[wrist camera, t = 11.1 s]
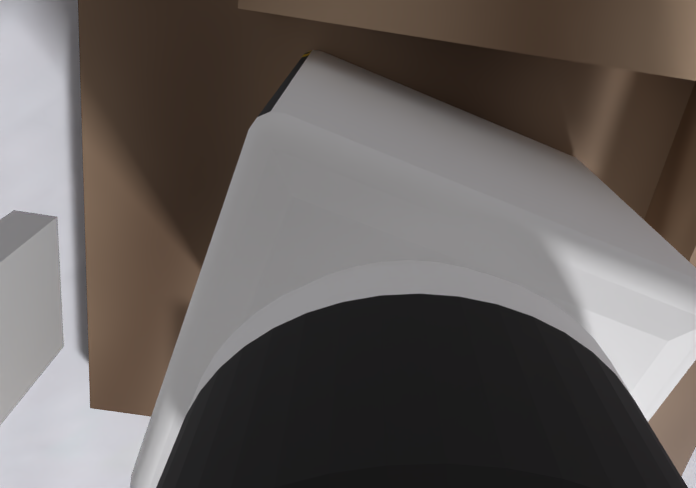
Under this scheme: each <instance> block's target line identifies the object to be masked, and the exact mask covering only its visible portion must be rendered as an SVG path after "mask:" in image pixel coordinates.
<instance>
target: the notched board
mask: <svg viewBox="0 0 696 488" xmlns="http://www.w3.org/2000/svg"><path fill="white" fill-rule="evenodd" d="M78 16H79V49H80V82H81V116H82V149H83V182H84V215H85V249H86V282H87V315H88V348H89V381H90V408H94V409H101V410H108V411H116V412H123V413H130V414H137V415H145V416H152V413H153V410H154V407H155V404H156V401H157V398H158V395H159V392H160V389H161V386H162V383H163V380H164V377H165V375H166V372H167V369H168V366H169V363H170V360H171V357H172V354H173V351H174V348H175V345H176V342H177V339H178V336H179V333H180V330H181V327H182V324H183V321H184V319H185V316H186V313H187V310H188V307H189V304H190V301H191V298H192V295H193V292H194V289H195V286H196V283H197V280H198V277H199V274H200V271H201V268H202V265H203V263H204V260H205V257H206V254H207V251H208V248H209V245H210V242H211V239H212V236H213V233H214V230H215V227H216V224H217V221H218V218H219V215H220V212H221V210H222V207H223V204H224V201H225V198H226V195H227V192H228V189H229V186H230V183H231V180H232V177H233V174H234V171H235V168H236V165H237V162H238V159H239V156H240V154H241V151H242V148H243V145H244V142H245V139H246V136H247V133H248V130H249V128H250V127H251V125H252V124H253V122H254V121H255V119H256V118H257V117H258V115H259V114H260V113H261V111H262V110H263V109H264V107H265V106H266V105H267V103H268V102H269V101H270V99H271V98H272V97H273V95H274V94H275V92H276V91H277V90H278V88H279V87H280V86H281V84H282V83H283V82H284V80H285V79H286V78H287V76H288V75H289V74H290V72H291V71H292V70H293V68H294V67H295V66H296V64H297V63H298V62H299V60H300V59H301V58H302V56H303V55H304V54H305V53H307V52H309V51H311V50H318V51H323V52H325V53H327V54H330V55H332V56H335V57H337V58H339V59H342V60H344V61H346V62H349V63H351V64H354V65H356V66H358V67H361V68H363V69H366V70H368V71H370V72H373V73H375V74H377V75H380V76H382V77H385V78H387V79H389V80H392V81H394V82H397V83H399V84H401V85H404V86H406V87H408V88H411V89H413V90H416V91H418V92H420V93H423V94H425V95H428V96H430V97H432V98H435V99H437V100H439V101H442V102H444V103H447V104H449V105H451V106H454V107H456V108H459V109H461V110H463V111H466V112H468V113H470V114H473V115H475V116H478V117H480V118H482V119H485V120H487V121H490V122H492V123H494V124H497V125H499V126H501V127H504V128H506V129H509V130H511V131H513V132H516V133H518V134H521V135H523V136H525V137H528V138H530V139H532V140H535V141H537V142H540V143H542V144H544V145H547V146H549V147H552V148H554V149H556V150H559V151H561V152H563V153H566V154H568V155H571V156H573V157H575V158H577V159H578V160H579V161H581V162H582V163H583V164H584V165H585V166H586V167H587V168H588V169H589V170H590V171H592V172H593V173H594V174H595V175H596V176H597V177H598V178H599V179H600V180H601V181H602V182H603V183H604V184H606V185H607V186H608V187H609V188H610V189H611V190H612V191H613V192H614V193H615V194H616V195H617V196H619V197H620V198H621V199H622V200H623V201H624V202H625V203H626V204H627V205H628V206H629V207H630V208H632V209H633V210H634V211H635V212H636V213H637V214H638V215H639V216H640V217H641V218H642V219H643V220H645V221H646V222H647V223H648V224H649V225H650V226H651V227H652V228H653V229H654V230H655V231H656V232H658V233H659V234H660V235H661V236H662V237H663V238H664V239H665V240H666V241H667V242H668V243H669V244H671V245H672V246H673V247H674V248H675V249H676V250H677V251H678V252H679V253H680V254H681V255H682V256H683V257H685V258H686V259H687V260H688V261H689V262H690V263H691V264H692V265H693V266H694V267H695V268H696V0H78ZM648 423H649V425H650V426H651V428H652V430H653V431H654V433H655V435H656V436H657V438H658V439H659V441H660V443H661V444H662V446H663V448H664V449H665V451H666V453H667V454H668V456H669V458H670V459H671V461H672V462H673V464H674V466H675V467H676V469H677V471H678V472H679V474H680V476H682V474H683V472H684V470H685V468H686V465H687V463H688V461H689V459H690V457H691V455H692V453H693V451H694V449H695V447H696V360H695V361H694V363H693V364H692V365H691V367H690V368H689V369H688V371H687V372H686V373H685V374H684V376H683V377H682V378H681V380H680V381H679V382H678V384H677V385H676V386H675V387H674V389H673V390H672V391H671V393H670V394H669V395H668V397H667V398H666V399H665V400H664V402H663V403H662V404H661V406H660V407H659V408H658V410H657V411H656V412H655V414H654V415H653V416H652V417H651V419H650V420H649V421H648Z"/></svg>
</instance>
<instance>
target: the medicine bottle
mask: <svg viewBox="0 0 696 488" xmlns="http://www.w3.org/2000/svg"><path fill="white" fill-rule="evenodd" d="M695 360H696V268H695V267H694V266H693V265H692V264H691V263H690V262H689V261H688V260H687V259H686V258H685V257H683V256H682V255H681V254H680V253H679V252H678V251H677V250H676V249H675V248H674V247H673V246H672V245H671V244H669V243H668V242H667V241H666V240H665V239H664V238H663V237H662V236H661V235H660V234H659V233H658V232H656V231H655V230H654V229H653V228H652V227H651V226H650V225H649V224H648V223H647V222H646V221H645V220H643V219H642V218H641V217H640V216H639V215H638V214H637V213H636V212H635V211H634V210H633V209H632V208H630V207H629V206H628V205H627V204H626V203H625V202H624V201H623V200H622V199H621V198H620V197H619V196H617V195H616V194H615V193H614V192H613V191H612V190H611V189H610V188H609V187H608V186H607V185H606V184H604V183H603V182H602V181H601V180H600V179H599V178H598V177H597V176H596V175H595V174H594V173H593V172H592V171H590V170H589V169H588V168H587V167H586V166H585V165H584V164H583V163H582V162H581V161H579V160H578V159H577V158H575V157H573V156H571V155H568V154H566V153H563V152H561V151H559V150H556V149H554V148H552V147H549V146H547V145H544V144H542V143H540V142H537V141H535V140H532V139H530V138H528V137H525V136H523V135H521V134H518V133H516V132H513V131H511V130H509V129H506V128H504V127H501V126H499V125H497V124H494V123H492V122H490V121H487V120H485V119H482V118H480V117H478V116H475V115H473V114H470V113H468V112H466V111H463V110H461V109H459V108H456V107H454V106H451V105H449V104H447V103H444V102H442V101H439V100H437V99H435V98H432V97H430V96H428V95H425V94H423V93H420V92H418V91H416V90H413V89H411V88H408V87H406V86H404V85H401V84H399V83H397V82H394V81H392V80H389V79H387V78H385V77H382V76H380V75H377V74H375V73H373V72H370V71H368V70H366V69H363V68H361V67H358V66H356V65H354V64H351V63H349V62H346V61H344V60H342V59H339V58H337V57H335V56H332V55H330V54H327V53H325V52H323V51H318V50H311V51H309V52H307V53H305V54H304V55H303V56H302V58H301V59H300V60H299V62H298V63H297V64H296V66H295V67H294V68H293V70H292V71H291V72H290V74H289V75H288V76H287V78H286V79H285V80H284V82H283V83H282V84H281V86H280V87H279V88H278V90H277V91H276V92H275V94H274V95H273V97H272V98H271V99H270V101H269V102H268V103H267V105H266V106H265V107H264V109H263V110H262V111H261V113H260V114H259V115H258V117H257V118H256V119H255V121H254V122H253V124H252V125H251V127H250V128H249V130H248V133H247V136H246V139H245V142H244V145H243V148H242V151H241V154H240V156H239V159H238V162H237V165H236V168H235V171H234V174H233V177H232V180H231V183H230V186H229V189H228V192H227V195H226V198H225V201H224V204H223V207H222V210H221V212H220V215H219V218H218V221H217V224H216V227H215V230H214V233H213V236H212V239H211V242H210V245H209V248H208V251H207V254H206V257H205V260H204V263H203V265H202V268H201V271H200V274H199V277H198V280H197V283H196V286H195V289H194V292H193V295H192V298H191V301H190V304H189V307H188V310H187V313H186V316H185V319H184V321H183V324H182V327H181V330H180V333H179V336H178V339H177V342H176V345H175V348H174V351H173V354H172V357H171V360H170V363H169V366H168V369H167V372H166V375H165V377H164V380H163V383H162V386H161V389H160V392H159V395H158V398H157V401H156V404H155V407H154V410H153V413H152V416H151V419H150V422H149V425H148V428H147V430H146V433H145V436H144V439H143V442H142V445H141V448H140V451H139V454H138V457H137V460H136V463H135V466H134V469H133V472H132V475H131V483H130V488H688V487H687V485H686V484H685V482H684V480H683V479H682V477H681V476H680V474H679V472H678V471H677V469H676V467H675V466H674V464H673V462H672V461H671V459H670V458H669V456H668V454H667V453H666V451H665V449H664V448H663V446H662V444H661V443H660V441H659V439H658V438H657V436H656V435H655V433H654V431H653V430H652V428H651V426H650V425H649V423H648V421H649V420H650V419H651V417H652V416H653V415H654V414H655V412H656V411H657V410H658V408H659V407H660V406H661V404H662V403H663V402H664V400H665V399H666V398H667V397H668V395H669V394H670V393H671V391H672V390H673V389H674V387H675V386H676V385H677V384H678V382H679V381H680V380H681V378H682V377H683V376H684V374H685V373H686V372H687V371H688V369H689V368H690V367H691V365H692V364H693V363H694V361H695Z"/></svg>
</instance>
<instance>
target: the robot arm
mask: <svg viewBox="0 0 696 488" xmlns="http://www.w3.org/2000/svg"><path fill="white" fill-rule="evenodd" d="M63 347H64V343H63V323H62V303H61V282H60V262H59V242H58V222H57V217H55V216H49V215H42V214H35V213H28V212H21V211H12V212H11V213H9V214H8V215H6V216H5V217H3V218H2V219H1V220H0V425H1V424H2V423H3V421H4V420H5V419H6V418H7V416H8V415H9V414H10V413H11V411H12V410H13V409H14V408H15V406H16V405H17V404H18V403H19V401H20V400H21V399H22V398H23V396H24V395H25V394H26V393H27V391H28V390H29V389H30V388H31V386H32V385H33V384H34V383H35V381H36V380H37V379H38V378H39V376H40V375H41V374H42V373H43V372H44V370H45V369H46V368H47V367H48V365H49V364H50V363H51V362H52V360H53V359H54V358H55V357H56V355H57V354H58V353H59V352H60V350H61V349H62V348H63Z"/></svg>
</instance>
